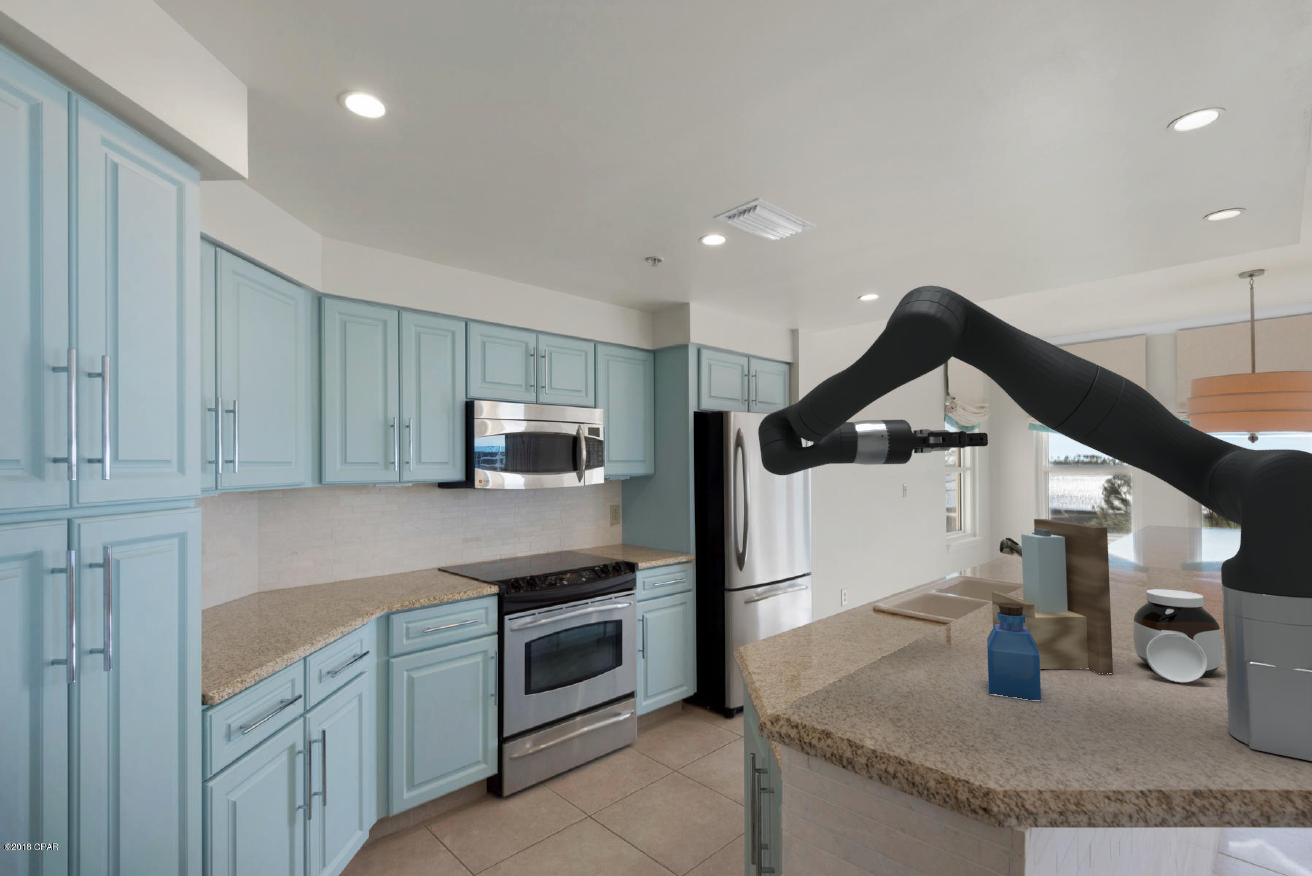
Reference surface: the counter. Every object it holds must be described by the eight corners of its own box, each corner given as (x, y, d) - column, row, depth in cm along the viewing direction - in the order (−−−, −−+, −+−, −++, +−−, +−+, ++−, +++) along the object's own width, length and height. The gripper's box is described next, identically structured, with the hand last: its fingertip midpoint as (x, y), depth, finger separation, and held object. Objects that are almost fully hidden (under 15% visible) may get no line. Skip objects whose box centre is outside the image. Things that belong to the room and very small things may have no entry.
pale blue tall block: (1040, 613, 100) (1037, 531, 101) (1023, 606, 105) (1021, 528, 105) (1067, 612, 100) (1064, 530, 101) (1050, 606, 105) (1047, 527, 105)
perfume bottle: (988, 694, 87) (986, 607, 88) (988, 681, 93) (986, 598, 93) (1041, 702, 84) (1038, 611, 85) (1037, 687, 90) (1034, 602, 90)
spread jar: (1194, 663, 100) (1190, 588, 100) (1254, 688, 88) (1250, 604, 89) (1113, 661, 101) (1110, 588, 101) (1163, 686, 90) (1159, 603, 90)
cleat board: (1039, 675, 95) (1033, 528, 95) (985, 646, 110) (981, 519, 110) (1113, 674, 95) (1107, 527, 96) (1049, 645, 110) (1045, 518, 111)
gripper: (893, 416, 99) (995, 415, 99) (862, 422, 114) (952, 421, 114) (894, 464, 99) (997, 462, 99) (864, 464, 113) (954, 462, 113)
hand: (973, 440), depth 106 cm, fingers open, 8 cm apart
